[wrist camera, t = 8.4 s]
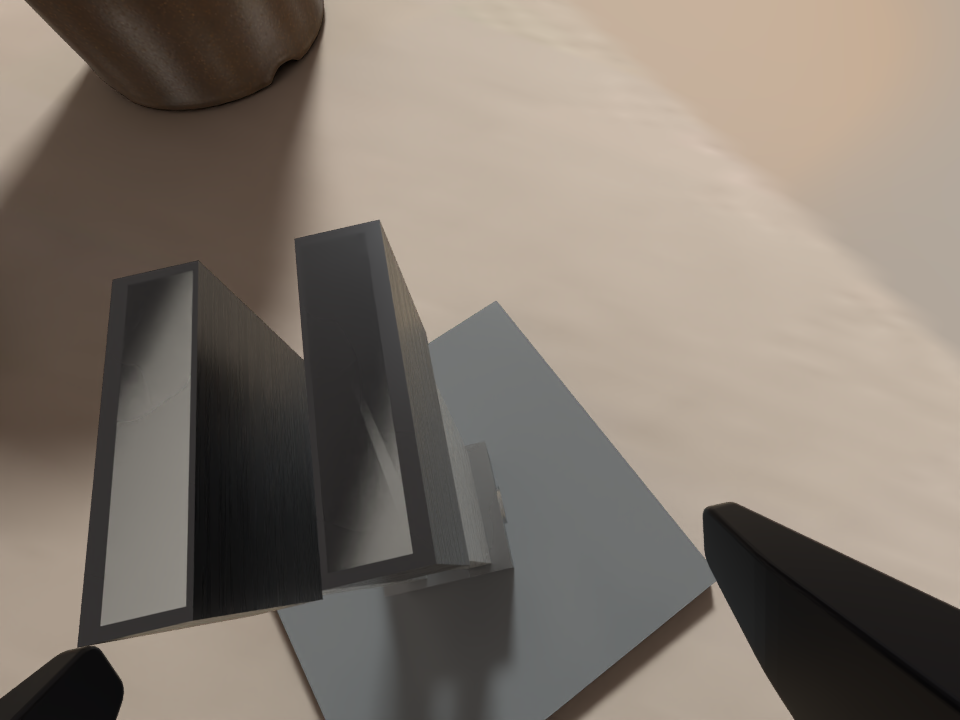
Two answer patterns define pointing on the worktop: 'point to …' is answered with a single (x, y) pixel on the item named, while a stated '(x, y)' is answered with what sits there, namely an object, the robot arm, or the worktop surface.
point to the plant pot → (185, 44)
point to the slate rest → (536, 557)
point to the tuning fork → (276, 450)
